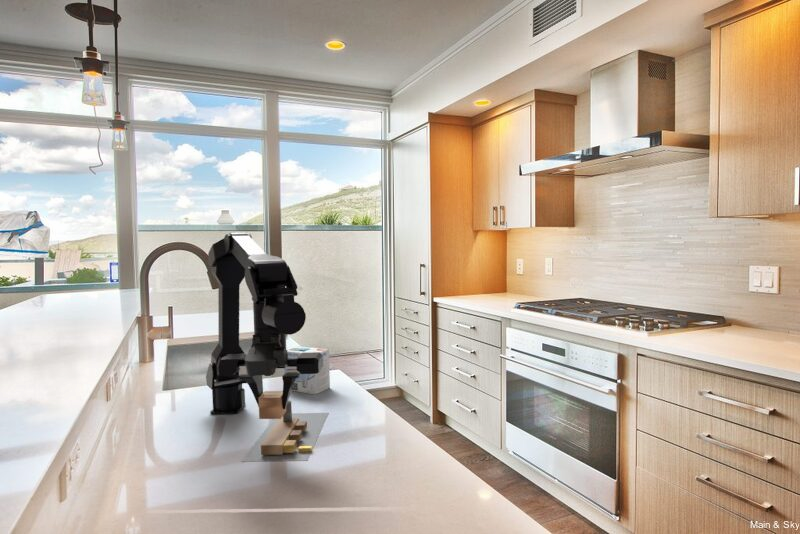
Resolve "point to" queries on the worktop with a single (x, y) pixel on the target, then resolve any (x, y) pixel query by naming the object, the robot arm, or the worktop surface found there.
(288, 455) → the base plate
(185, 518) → the worktop surface
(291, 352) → the light bulb box
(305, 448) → the pointer
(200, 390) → the worktop surface
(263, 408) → the yellow-striped wooden block
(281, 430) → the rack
